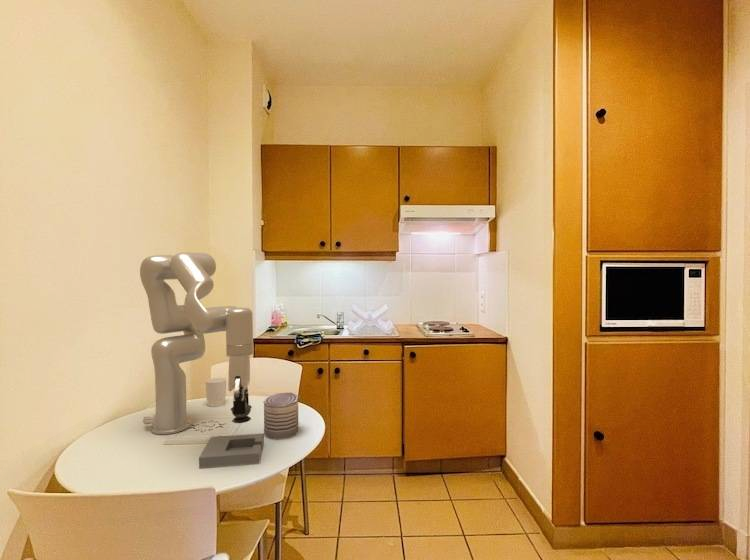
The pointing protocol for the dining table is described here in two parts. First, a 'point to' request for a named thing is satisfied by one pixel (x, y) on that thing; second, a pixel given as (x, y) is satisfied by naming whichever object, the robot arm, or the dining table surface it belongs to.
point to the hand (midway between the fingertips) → (241, 409)
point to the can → (281, 416)
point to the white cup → (216, 391)
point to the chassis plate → (232, 450)
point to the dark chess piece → (242, 417)
